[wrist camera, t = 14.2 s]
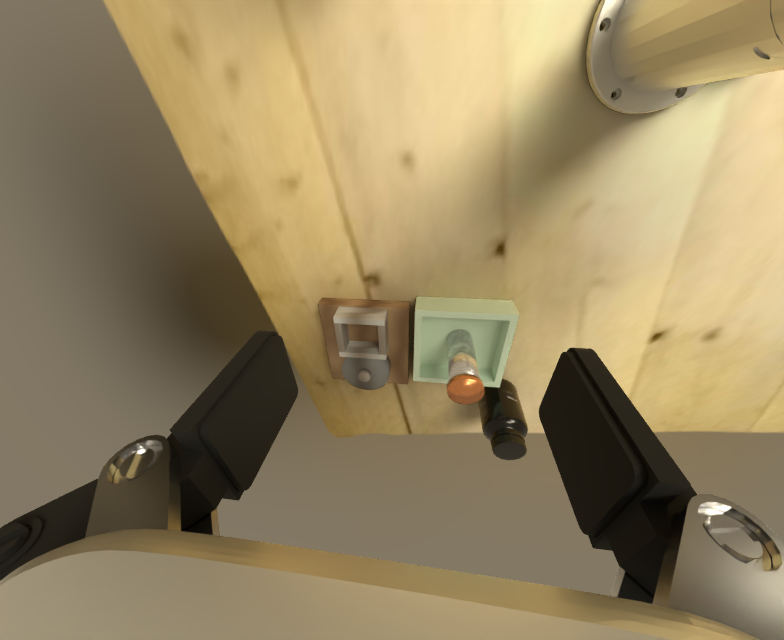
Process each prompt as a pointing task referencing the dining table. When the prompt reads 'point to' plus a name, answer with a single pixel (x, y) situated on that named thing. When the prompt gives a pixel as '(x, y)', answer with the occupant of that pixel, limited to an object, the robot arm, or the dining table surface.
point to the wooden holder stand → (367, 340)
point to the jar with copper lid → (463, 369)
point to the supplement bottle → (503, 421)
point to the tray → (477, 316)
